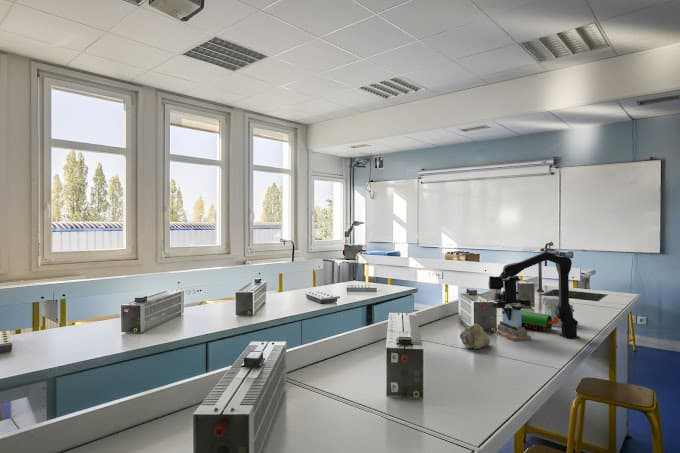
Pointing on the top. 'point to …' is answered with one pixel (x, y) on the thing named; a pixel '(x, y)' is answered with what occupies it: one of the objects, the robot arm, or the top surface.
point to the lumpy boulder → (474, 337)
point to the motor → (537, 320)
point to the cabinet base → (512, 332)
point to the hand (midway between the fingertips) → (511, 320)
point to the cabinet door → (512, 318)
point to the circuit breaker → (553, 307)
